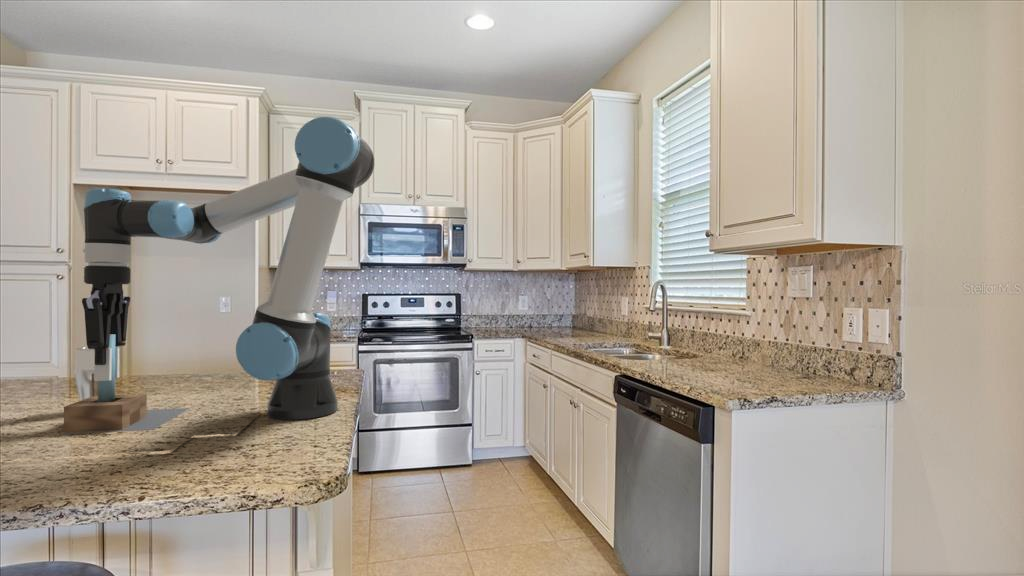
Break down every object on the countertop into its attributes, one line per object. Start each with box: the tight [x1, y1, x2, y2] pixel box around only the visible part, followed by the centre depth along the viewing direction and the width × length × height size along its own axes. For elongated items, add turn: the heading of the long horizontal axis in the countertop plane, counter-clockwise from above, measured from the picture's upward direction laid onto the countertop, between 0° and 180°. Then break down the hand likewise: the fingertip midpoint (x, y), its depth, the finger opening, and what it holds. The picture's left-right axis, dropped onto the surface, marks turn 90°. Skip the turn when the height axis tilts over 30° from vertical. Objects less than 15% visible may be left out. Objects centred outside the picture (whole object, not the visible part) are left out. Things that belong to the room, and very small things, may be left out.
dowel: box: [98, 334, 116, 403], centre depth 106 cm, size 3×3×14 cm
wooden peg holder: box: [63, 393, 148, 433], centre depth 106 cm, size 10×10×5 cm
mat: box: [60, 407, 190, 435], centre depth 109 cm, size 16×18×1 cm
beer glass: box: [73, 346, 98, 401], centre depth 116 cm, size 7×7×15 cm
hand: (106, 378), depth 106 cm, fingers closed on dowel, 2 cm apart
